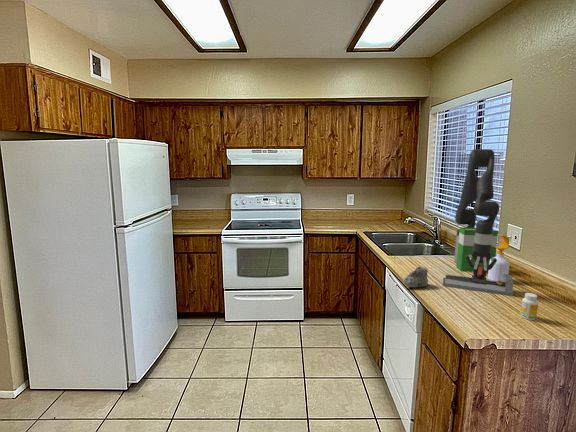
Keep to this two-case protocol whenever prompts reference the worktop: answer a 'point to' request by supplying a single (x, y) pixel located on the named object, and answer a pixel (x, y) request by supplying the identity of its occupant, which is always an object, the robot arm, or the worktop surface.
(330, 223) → the worktop surface
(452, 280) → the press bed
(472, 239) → the hardback book
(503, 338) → the worktop surface
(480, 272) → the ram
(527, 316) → the supplement bottle
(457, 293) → the worktop surface
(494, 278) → the soap bottle
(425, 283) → the mineral rock
